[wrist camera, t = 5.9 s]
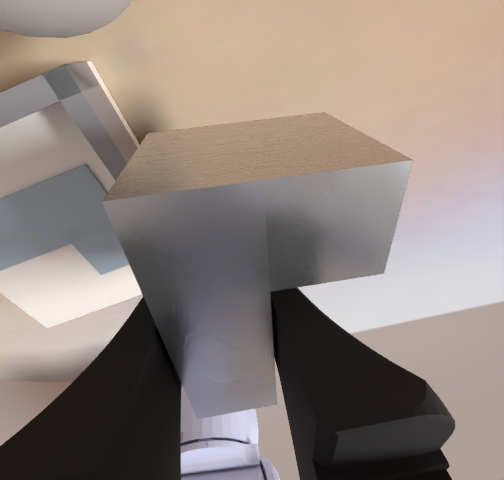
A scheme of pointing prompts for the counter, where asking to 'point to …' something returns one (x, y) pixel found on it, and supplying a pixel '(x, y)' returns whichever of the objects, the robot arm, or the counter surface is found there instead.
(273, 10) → the counter surface
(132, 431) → the robot arm
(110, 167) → the white tray
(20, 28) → the lightbulb
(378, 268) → the bracket
